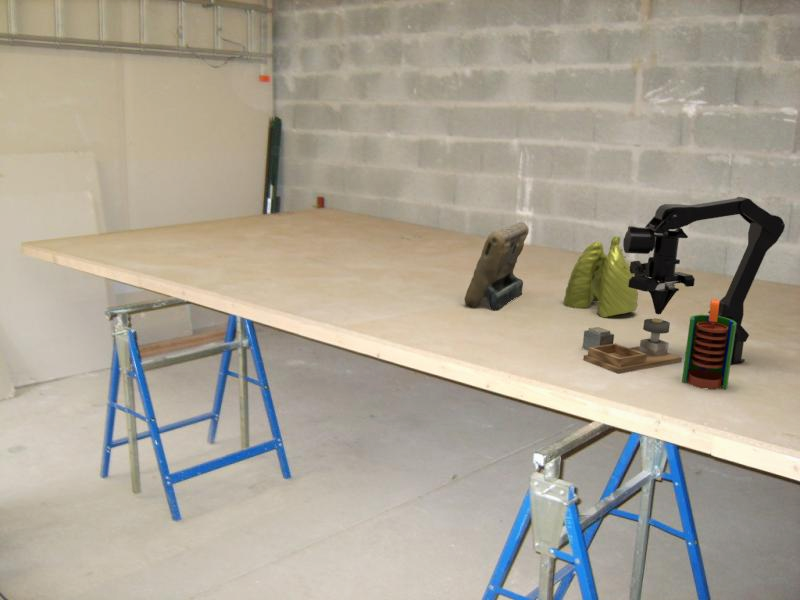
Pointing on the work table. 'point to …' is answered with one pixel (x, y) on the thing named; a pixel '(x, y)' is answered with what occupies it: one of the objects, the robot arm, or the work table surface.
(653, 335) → the grey knob
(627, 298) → the lungs
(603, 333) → the stepped grey block
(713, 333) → the motor
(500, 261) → the tablet
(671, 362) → the wooden tray
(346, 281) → the work table surface
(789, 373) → the work table surface
